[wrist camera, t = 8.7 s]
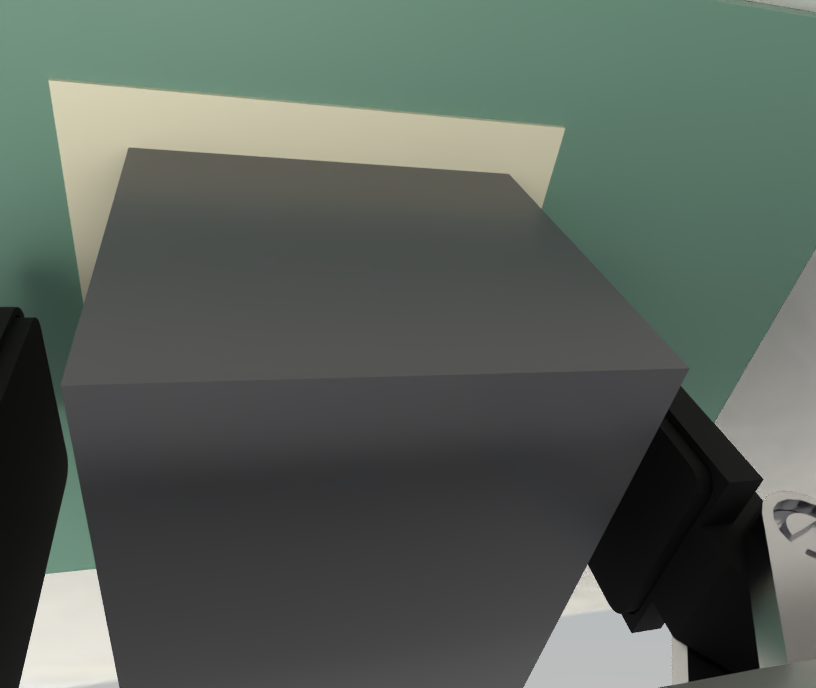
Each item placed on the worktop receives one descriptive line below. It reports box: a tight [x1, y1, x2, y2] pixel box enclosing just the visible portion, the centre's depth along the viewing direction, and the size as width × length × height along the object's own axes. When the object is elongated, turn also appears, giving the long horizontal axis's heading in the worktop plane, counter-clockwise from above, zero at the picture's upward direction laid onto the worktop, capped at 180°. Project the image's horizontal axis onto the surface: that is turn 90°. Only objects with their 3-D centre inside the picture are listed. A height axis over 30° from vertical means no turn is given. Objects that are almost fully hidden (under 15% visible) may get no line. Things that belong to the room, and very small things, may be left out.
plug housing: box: [60, 147, 690, 688], centre depth 10 cm, size 6×8×5 cm, turn 171°
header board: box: [0, 0, 816, 574], centre depth 11 cm, size 20×12×4 cm, turn 81°
